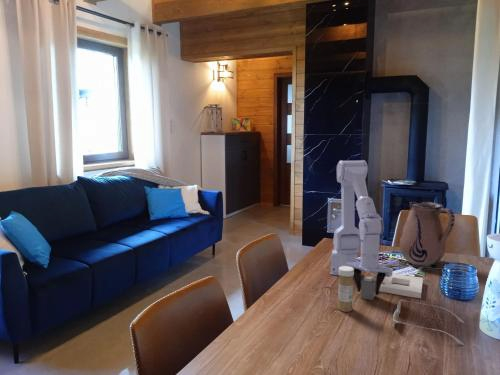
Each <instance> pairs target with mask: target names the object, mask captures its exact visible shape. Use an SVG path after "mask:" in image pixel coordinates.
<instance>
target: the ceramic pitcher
mask: <svg viewBox="0 0 500 375" xmlns="http://www.w3.org/2000/svg"><path fill="white" fill-rule="evenodd" d="M408 204H409V212H408V215H407V217H406V220H405V222H404V224H403V227H402V230H401V233H400V237H399V242H398V245H399V246H398V247H399V251H400V253H401V255H402V257H403V258H404V259H405V260H406V261H407V262H408V263H410V264H412V265H413V266H421V267H429V266H430V267H431V266H434V265H436V264H438V263H439V262H440V261H441V260H442V259H443V258H444V256H445V253H446V248H447V246H446V244H447V243H446V240H447V238H448V237H449V235H450V234H451V231H452V230H453V228H454V226H455V221H456V220H455V214H454V213H453V211H452V210H451V209H450V208H446V207H444V205H443V204H441V203H437V202H432V201H422V202H417V201H410V202H409V203H408ZM443 212H444V213H446V214H447V215H448V217H449V218H448V220H449V221H448V224H447V226H446V229H445V231H444V228H443V224H442V220H441V216H440V214H441V213H443Z"/></svg>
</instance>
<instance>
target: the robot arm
mask: <svg viewBox="0 0 500 375" xmlns="http://www.w3.org/2000/svg"><path fill="white" fill-rule="evenodd" d="M368 170H369V167H368V163H367V161H366V160H364V159H362V160H341V159H340V160H339V161H338V163H337V165H336V181H337V183H340V187H341V188H340V193H341V196H340V197H341V198H340V199H341V202H340V203H341V205H340V208H341V213H340V214H341V218H340V219H341V224H340V226H339V227H337V228H336V229H334V232H333V238H332V239H333V240H332V242H333V245H332V246H333V247H334V248H333V249H332V250H331V256H330V273H329V274H330V275H334V276H339V267H341V266H350V267H352V268H353V269H354V276H353V280H354V282H355V285H356V289H357V292H359V293H361V281H362V272H366V273H373V274H374V273H375V274H376V286H375V296H379V294H380V291H379V289H380V286H381V284H382V282H383V280H384V278H385V276H386V274H387V275H389V276H392V274H394V273H393V272H394V271H393V270H394V269H393V268H392V267H388V266H384V265H381V264H379V262H380V261H379V260H380V259H379V258H380V242H381V241H380V239H381V235H383V233H384V229H385V227H384V221H383V220H384V219H383V218H382V217H381V216H380V214H379V213H377V209H376V207H375V203H374V200H373V198H371V197H370V196H369V193H368V189H367V188H368V187H367V183H366V178H367V176H368V172H369V171H368ZM355 195H356V198H357V200H356V202H355ZM355 207H356V210H357V214H358V218H359V222H358V227H356V226H355V223H356V222H355ZM359 251H360V262H358V261H357V260H358V253H359Z"/></svg>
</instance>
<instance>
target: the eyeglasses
mask: <svg viewBox="0 0 500 375" xmlns="http://www.w3.org/2000/svg"><path fill="white" fill-rule="evenodd" d="M402 302H411V301H408V300H406V299H399V300H398V302H397V305H396V306H397V307H396V309H395V311H394V313H393V317H392V325H393V327H392V328H395V326H396V325H395V324H405V325H406V322H400V321H398V320H397V318H399V314H401V305H402ZM415 303H416V304H417V302H415V301H413V304H415ZM419 304H422V305H423V303H422V302H419ZM424 305H426V306H427V305H428V304H427V303H426V304H425V303H424ZM429 306H432V307H433V305H431V304H429ZM434 307H435V308H440V309H442V310H444V311H447V312H449V313H451V315H453V316H454V317H455V318H456V319H457V321H458V322H460V323H463V324H465V321H464V320H463V319H461V317H459V316H458V315H457V314H455V313H454V312H452V310H449V309H447V308H445V307H441V306H438V305H434ZM407 325H408V326H412V327H415V325H413V324H409V323H407ZM416 327H418V328H420V326H417V325H416ZM421 328H423V329H425V327H423V326H421ZM426 329H427V330H430V328H427V327H426ZM431 330H432V331H436V332H437V331H438V332H442V333H444V334H446V335H448V336H450V337H451V338H452V339H453V340H455V341H456V344H458V345H460V346H464V345H465V344H464V342H462V340H460V339H459V338H457V337H455V336H454V335H452V334H450V333H448V332H446V331H444V330H440V329H437V328H435V329H434V328H431Z"/></svg>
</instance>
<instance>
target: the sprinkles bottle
mask: <svg viewBox="0 0 500 375" xmlns="http://www.w3.org/2000/svg"><path fill="white" fill-rule="evenodd" d="M353 276H354V269H353V268H352V267H350V266H341V267H339V275H338V293H337V294H338V297H337V300H338V302H337V304H338V305H337V308H338V310H339V311H342V312H345V313H346V312H347V313H348V312H351V311H352V310H353V300H354V299H353V298H354V278H353Z"/></svg>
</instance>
